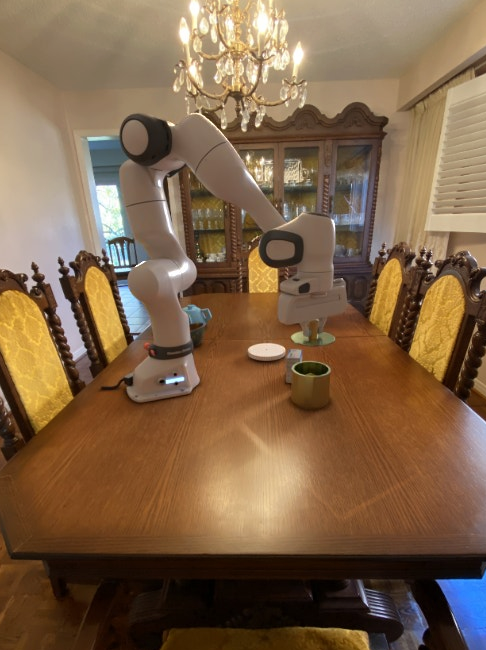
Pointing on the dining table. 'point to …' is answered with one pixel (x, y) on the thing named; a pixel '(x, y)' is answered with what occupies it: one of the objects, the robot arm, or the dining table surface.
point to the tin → (310, 384)
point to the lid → (313, 337)
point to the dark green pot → (196, 333)
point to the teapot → (197, 314)
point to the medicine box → (292, 362)
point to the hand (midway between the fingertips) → (312, 334)
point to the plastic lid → (266, 351)
